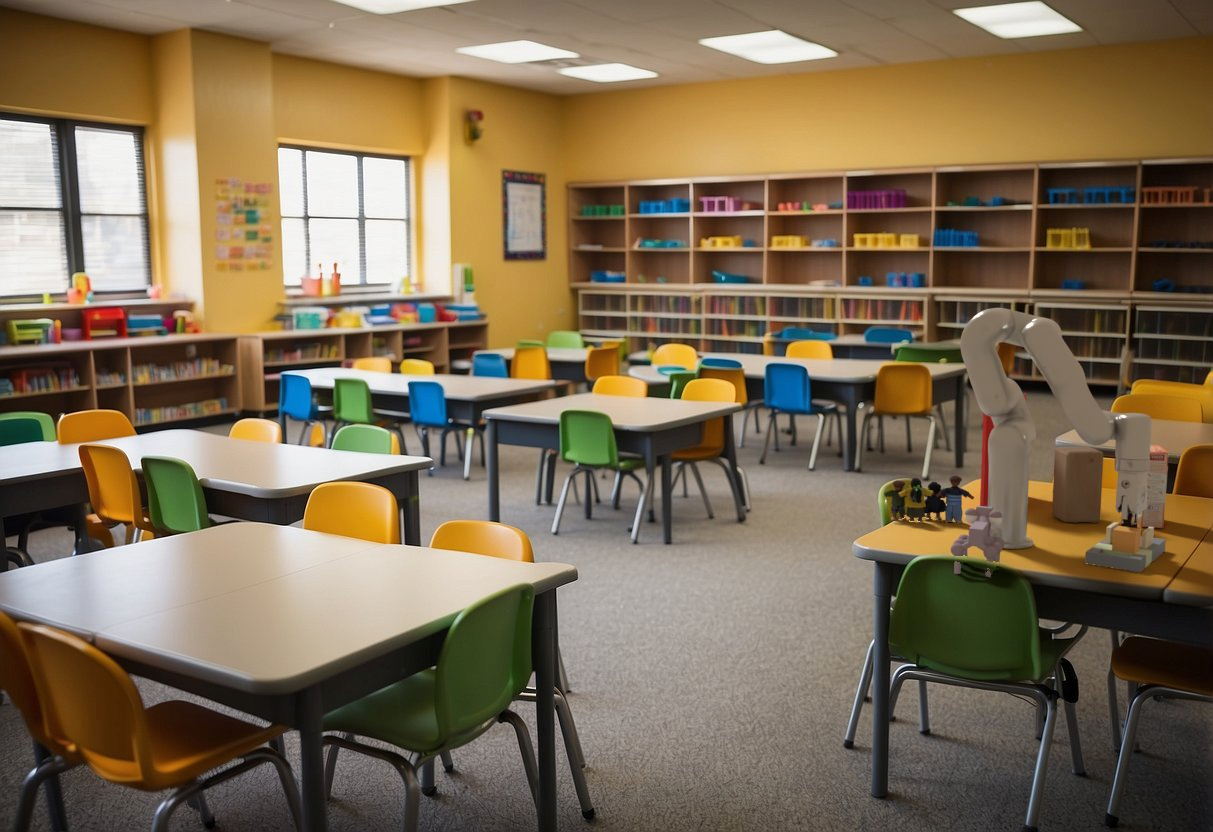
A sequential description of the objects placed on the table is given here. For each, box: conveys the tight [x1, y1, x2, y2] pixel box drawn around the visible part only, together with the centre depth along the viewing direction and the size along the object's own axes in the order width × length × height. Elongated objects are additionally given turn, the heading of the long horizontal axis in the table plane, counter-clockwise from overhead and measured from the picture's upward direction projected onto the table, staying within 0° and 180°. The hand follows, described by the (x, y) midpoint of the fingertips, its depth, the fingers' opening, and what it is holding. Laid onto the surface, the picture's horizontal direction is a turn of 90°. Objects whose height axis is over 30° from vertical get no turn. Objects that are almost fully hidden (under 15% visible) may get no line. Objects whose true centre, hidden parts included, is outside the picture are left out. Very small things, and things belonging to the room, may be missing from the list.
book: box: [979, 392, 1027, 507], centre depth 321 cm, size 27×8×32 cm, turn 151°
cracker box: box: [1137, 444, 1170, 530], centre depth 294 cm, size 14×6×21 cm, turn 161°
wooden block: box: [1051, 445, 1104, 523], centre depth 299 cm, size 10×10×20 cm
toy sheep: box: [950, 505, 1005, 578], centre depth 254 cm, size 20×11×14 cm, turn 152°
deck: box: [1084, 521, 1167, 573], centre depth 260 cm, size 24×12×7 cm, turn 141°
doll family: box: [883, 475, 975, 524], centre depth 300 cm, size 23×9×13 cm, turn 91°
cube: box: [1112, 525, 1142, 554], centre depth 256 cm, size 5×5×5 cm
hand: (1128, 539), depth 261 cm, fingers closed
